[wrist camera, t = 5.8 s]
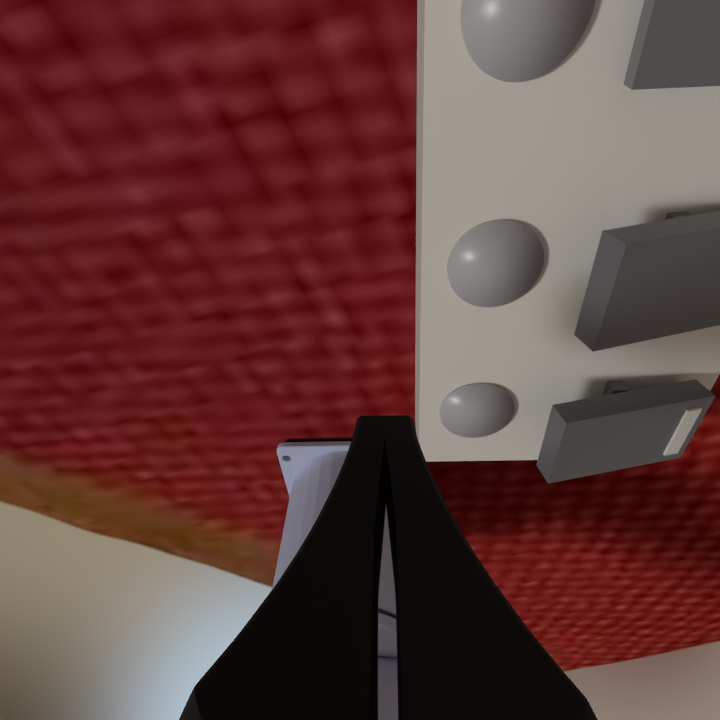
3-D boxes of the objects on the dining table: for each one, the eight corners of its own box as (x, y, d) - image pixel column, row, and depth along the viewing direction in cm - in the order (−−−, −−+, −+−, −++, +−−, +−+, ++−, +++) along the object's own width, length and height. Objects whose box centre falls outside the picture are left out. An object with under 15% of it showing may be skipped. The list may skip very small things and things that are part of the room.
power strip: (643, 413, 23) (679, 468, 21) (415, 418, 24) (419, 471, 21) (928, -220, 10) (1129, -305, 8) (418, -158, 11) (429, -214, 9)
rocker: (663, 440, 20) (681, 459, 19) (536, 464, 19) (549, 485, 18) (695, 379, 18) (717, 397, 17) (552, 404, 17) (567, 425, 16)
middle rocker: (728, 302, 16) (758, 319, 15) (573, 334, 15) (594, 353, 14) (781, 200, 13) (818, 211, 13) (602, 230, 13) (628, 245, 12)
